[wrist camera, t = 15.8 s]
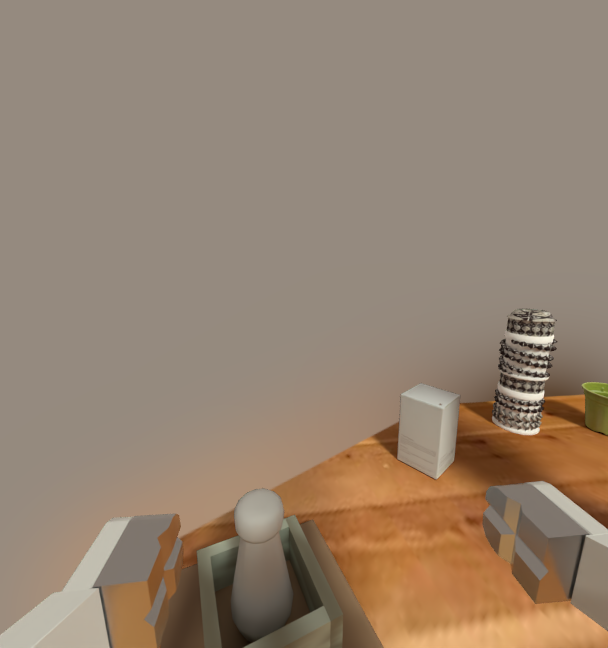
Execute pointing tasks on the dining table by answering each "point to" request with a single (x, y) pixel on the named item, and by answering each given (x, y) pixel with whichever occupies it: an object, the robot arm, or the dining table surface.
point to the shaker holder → (307, 606)
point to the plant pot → (596, 406)
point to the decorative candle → (523, 371)
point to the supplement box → (428, 429)
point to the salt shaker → (260, 567)
